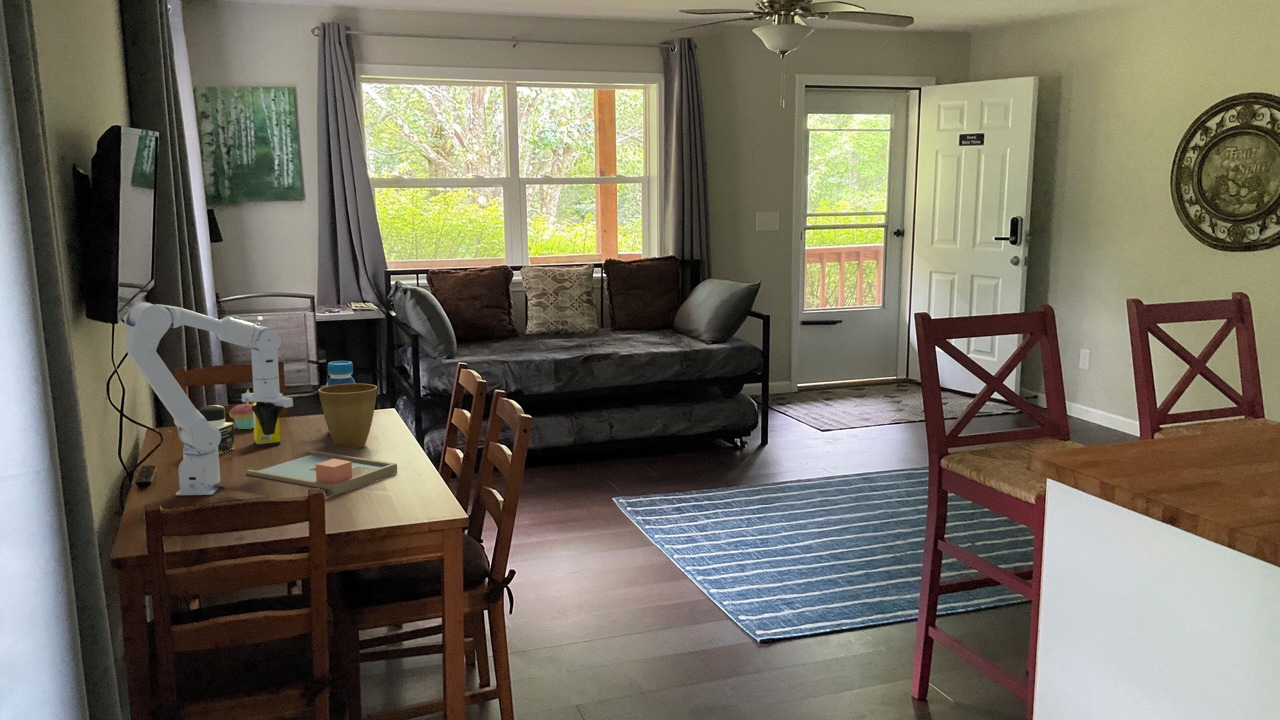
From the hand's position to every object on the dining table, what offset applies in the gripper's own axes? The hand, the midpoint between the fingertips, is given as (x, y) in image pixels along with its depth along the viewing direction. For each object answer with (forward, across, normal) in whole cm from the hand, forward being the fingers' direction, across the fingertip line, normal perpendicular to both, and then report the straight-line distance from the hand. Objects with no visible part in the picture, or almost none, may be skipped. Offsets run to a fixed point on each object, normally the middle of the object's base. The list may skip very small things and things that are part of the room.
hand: (269, 434), depth 226 cm
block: (+9, -21, +1) cm, 22 cm away
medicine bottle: (+10, +31, -10) cm, 34 cm away
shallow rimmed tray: (+10, -11, -5) cm, 16 cm away
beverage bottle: (+10, +17, -42) cm, 47 cm away
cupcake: (+10, +45, -32) cm, 56 cm away
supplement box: (+10, +26, -22) cm, 35 cm away
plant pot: (+10, +4, -30) cm, 32 cm away
